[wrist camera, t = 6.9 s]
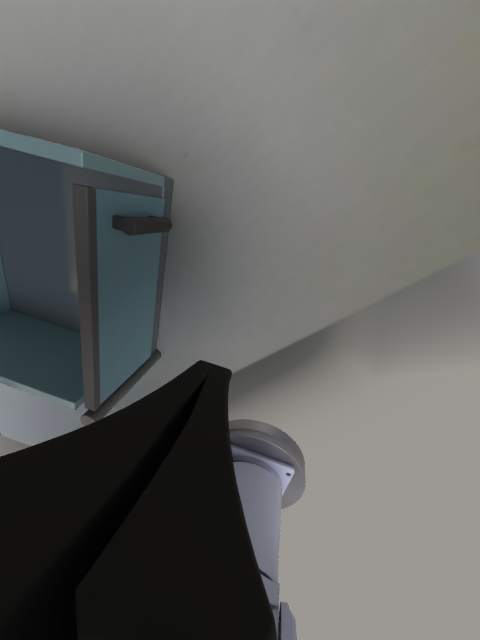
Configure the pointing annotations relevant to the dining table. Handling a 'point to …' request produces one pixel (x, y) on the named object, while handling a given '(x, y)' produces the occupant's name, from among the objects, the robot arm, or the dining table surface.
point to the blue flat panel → (115, 283)
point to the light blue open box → (55, 265)
